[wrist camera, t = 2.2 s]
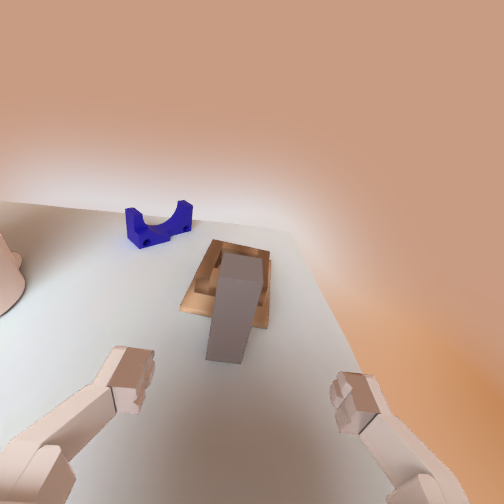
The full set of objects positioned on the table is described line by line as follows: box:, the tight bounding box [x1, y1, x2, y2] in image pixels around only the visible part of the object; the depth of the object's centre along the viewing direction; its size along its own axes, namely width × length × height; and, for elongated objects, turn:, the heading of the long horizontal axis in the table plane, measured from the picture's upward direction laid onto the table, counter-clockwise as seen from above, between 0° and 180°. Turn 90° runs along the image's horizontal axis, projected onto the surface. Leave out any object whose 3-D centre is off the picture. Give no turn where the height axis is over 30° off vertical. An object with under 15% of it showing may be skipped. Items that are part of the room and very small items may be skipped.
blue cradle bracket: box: [125, 200, 193, 249], centre depth 46 cm, size 12×4×6 cm, turn 139°
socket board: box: [180, 239, 271, 329], centre depth 38 cm, size 12×16×4 cm
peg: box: [206, 252, 263, 364], centre depth 26 cm, size 4×4×12 cm
